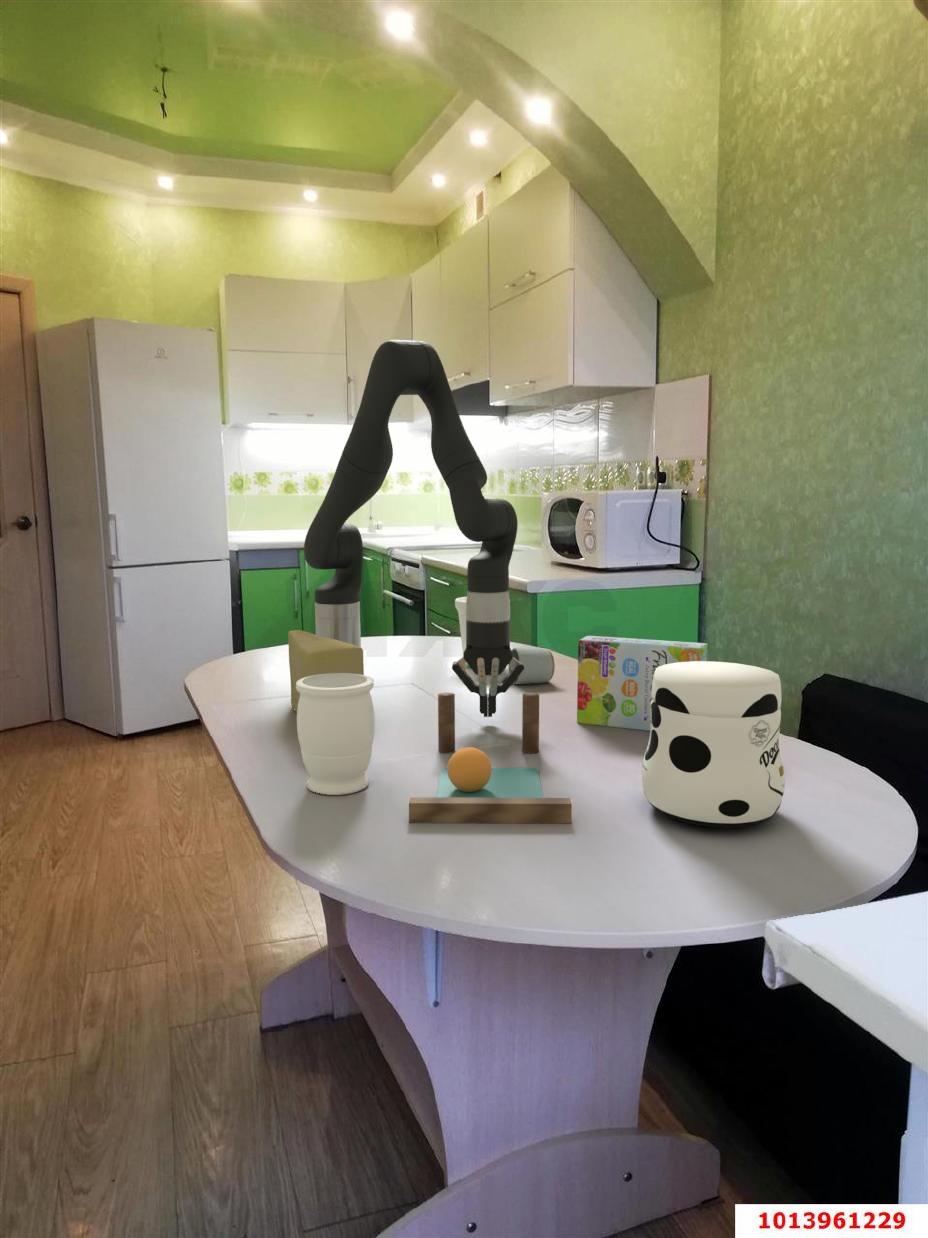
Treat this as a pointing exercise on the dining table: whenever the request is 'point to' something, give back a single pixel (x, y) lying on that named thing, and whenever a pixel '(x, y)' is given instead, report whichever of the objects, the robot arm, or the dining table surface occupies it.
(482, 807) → the rail
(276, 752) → the dining table surface
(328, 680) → the jar
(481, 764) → the ball
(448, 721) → the left post
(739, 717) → the spotted treat canister
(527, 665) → the ceramic mug
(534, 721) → the right post
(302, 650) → the cheese
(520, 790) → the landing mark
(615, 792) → the dining table surface
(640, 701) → the snack box
